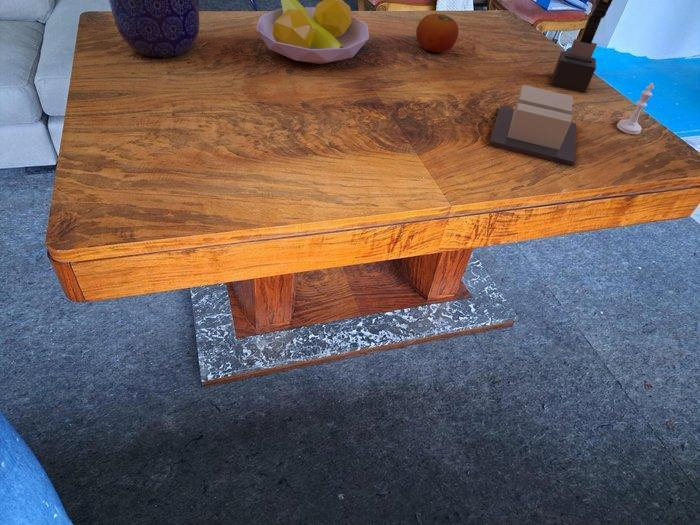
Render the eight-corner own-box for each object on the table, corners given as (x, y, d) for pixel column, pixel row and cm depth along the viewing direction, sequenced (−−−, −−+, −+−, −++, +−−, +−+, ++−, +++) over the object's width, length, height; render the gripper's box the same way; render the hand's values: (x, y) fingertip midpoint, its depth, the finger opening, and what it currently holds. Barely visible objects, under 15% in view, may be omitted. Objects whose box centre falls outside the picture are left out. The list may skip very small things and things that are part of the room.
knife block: (585, 82, 124) (595, 58, 119) (585, 92, 119) (596, 67, 115) (552, 75, 125) (561, 51, 121) (550, 85, 121) (560, 60, 117)
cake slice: (559, 142, 99) (571, 114, 95) (559, 150, 97) (571, 122, 93) (508, 130, 101) (518, 102, 97) (507, 137, 99) (516, 109, 95)
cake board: (574, 127, 107) (576, 123, 106) (572, 166, 96) (574, 161, 95) (499, 109, 110) (500, 105, 109) (488, 145, 98) (490, 140, 98)
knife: (579, 84, 122) (610, 9, 111) (579, 87, 121) (610, 12, 109) (558, 79, 123) (587, 5, 111) (557, 82, 122) (586, 7, 110)
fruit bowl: (384, 71, 118) (391, 20, 110) (269, 79, 110) (268, 25, 102) (345, 26, 137) (349, -21, 129) (244, 30, 129) (241, -19, 121)
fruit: (405, 43, 132) (411, 11, 126) (437, 39, 136) (444, 7, 130) (430, 60, 125) (436, 26, 120) (462, 54, 129) (470, 22, 124)
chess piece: (645, 133, 108) (670, 88, 101) (627, 135, 106) (651, 90, 99) (629, 121, 111) (652, 77, 104) (611, 123, 109) (633, 79, 102)
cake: (561, 123, 105) (572, 95, 101) (560, 139, 101) (572, 111, 96) (513, 111, 107) (522, 84, 103) (509, 126, 102) (519, 99, 98)
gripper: (647, -46, 96) (607, 46, 108) (642, -61, 106) (605, 26, 118) (606, -53, 98) (571, 39, 110) (605, -67, 107) (572, 19, 119)
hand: (589, 32), depth 114 cm, fingers closed on knife, 2 cm apart
